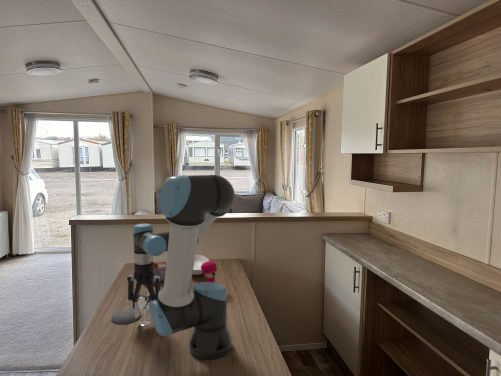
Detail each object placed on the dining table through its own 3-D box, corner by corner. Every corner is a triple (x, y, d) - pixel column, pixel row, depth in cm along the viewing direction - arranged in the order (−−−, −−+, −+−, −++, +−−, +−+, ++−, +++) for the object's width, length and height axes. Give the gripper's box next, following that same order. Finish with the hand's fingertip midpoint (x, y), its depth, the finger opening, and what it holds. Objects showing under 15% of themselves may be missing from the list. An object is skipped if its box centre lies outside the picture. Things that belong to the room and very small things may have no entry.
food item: (166, 276, 193) (166, 260, 192) (168, 281, 185) (167, 264, 185) (141, 279, 188) (141, 262, 187) (142, 284, 181) (141, 267, 180)
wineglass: (147, 318, 142) (146, 291, 141) (155, 322, 139) (154, 294, 138) (134, 323, 138) (134, 295, 137) (142, 328, 134) (142, 299, 133)
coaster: (133, 324, 137) (133, 323, 137) (105, 323, 138) (105, 321, 138) (145, 311, 149) (145, 310, 149) (120, 310, 150) (120, 308, 150)
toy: (214, 293, 169) (214, 264, 168) (198, 292, 171) (198, 263, 169) (219, 287, 177) (219, 259, 176) (204, 286, 179) (204, 258, 178)
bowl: (183, 264, 215) (183, 255, 215) (206, 263, 219) (206, 254, 218) (185, 281, 186) (185, 270, 186) (212, 279, 190) (212, 268, 189)
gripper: (169, 260, 139) (169, 313, 141) (126, 258, 141) (127, 311, 143) (162, 265, 131) (163, 322, 133) (117, 263, 133) (118, 319, 135)
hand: (144, 316), depth 138 cm, fingers closed on wineglass, 6 cm apart
